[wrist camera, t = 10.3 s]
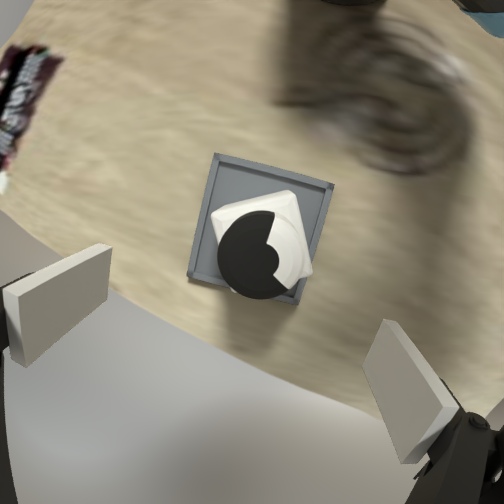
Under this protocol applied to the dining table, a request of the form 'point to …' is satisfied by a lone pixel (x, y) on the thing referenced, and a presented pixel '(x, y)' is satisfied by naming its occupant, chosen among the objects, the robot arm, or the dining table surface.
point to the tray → (246, 187)
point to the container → (262, 245)
